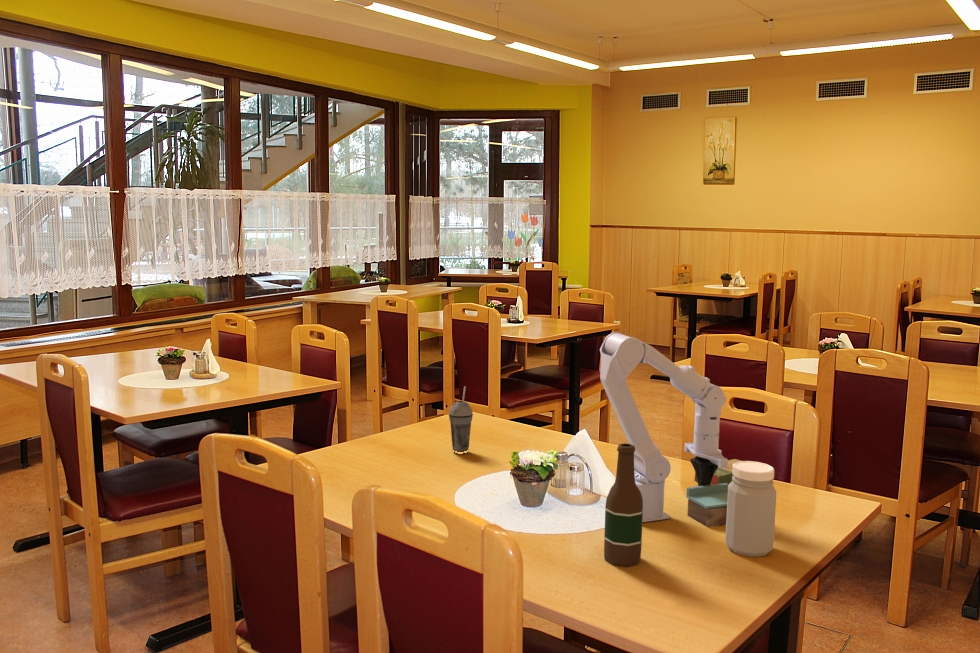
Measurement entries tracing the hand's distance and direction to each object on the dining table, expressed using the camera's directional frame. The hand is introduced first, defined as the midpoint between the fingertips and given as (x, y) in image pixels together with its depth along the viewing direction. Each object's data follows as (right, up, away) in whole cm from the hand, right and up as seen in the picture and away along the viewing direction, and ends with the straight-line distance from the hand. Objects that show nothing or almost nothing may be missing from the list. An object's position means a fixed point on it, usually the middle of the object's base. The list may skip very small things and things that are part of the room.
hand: (703, 488), depth 188 cm
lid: (+2, -2, -5) cm, 5 cm away
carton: (+12, -3, +23) cm, 27 cm away
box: (+2, -6, -5) cm, 8 cm away
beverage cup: (-60, +1, +47) cm, 76 cm away
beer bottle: (-24, -9, -28) cm, 38 cm away
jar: (+4, -9, -22) cm, 24 cm away
